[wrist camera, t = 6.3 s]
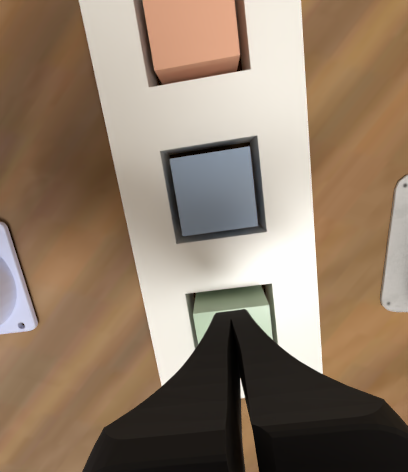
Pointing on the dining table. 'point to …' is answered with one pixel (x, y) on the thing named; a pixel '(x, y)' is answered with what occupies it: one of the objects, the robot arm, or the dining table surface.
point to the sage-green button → (231, 307)
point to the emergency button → (397, 253)
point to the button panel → (204, 137)
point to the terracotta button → (192, 38)
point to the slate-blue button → (215, 191)
